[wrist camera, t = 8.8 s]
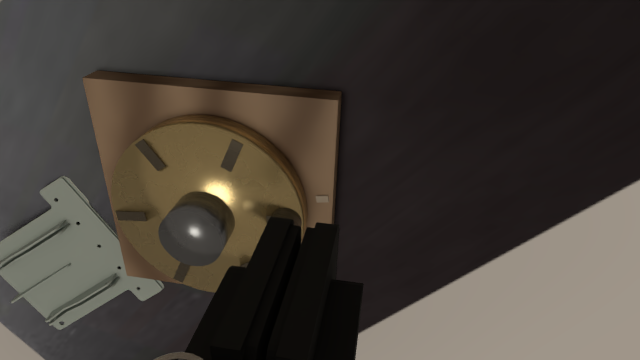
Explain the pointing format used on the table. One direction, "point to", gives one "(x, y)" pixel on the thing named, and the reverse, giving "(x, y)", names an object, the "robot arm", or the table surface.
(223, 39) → the table surface
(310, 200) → the base plate
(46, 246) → the metal bracket
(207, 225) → the rotary dial
